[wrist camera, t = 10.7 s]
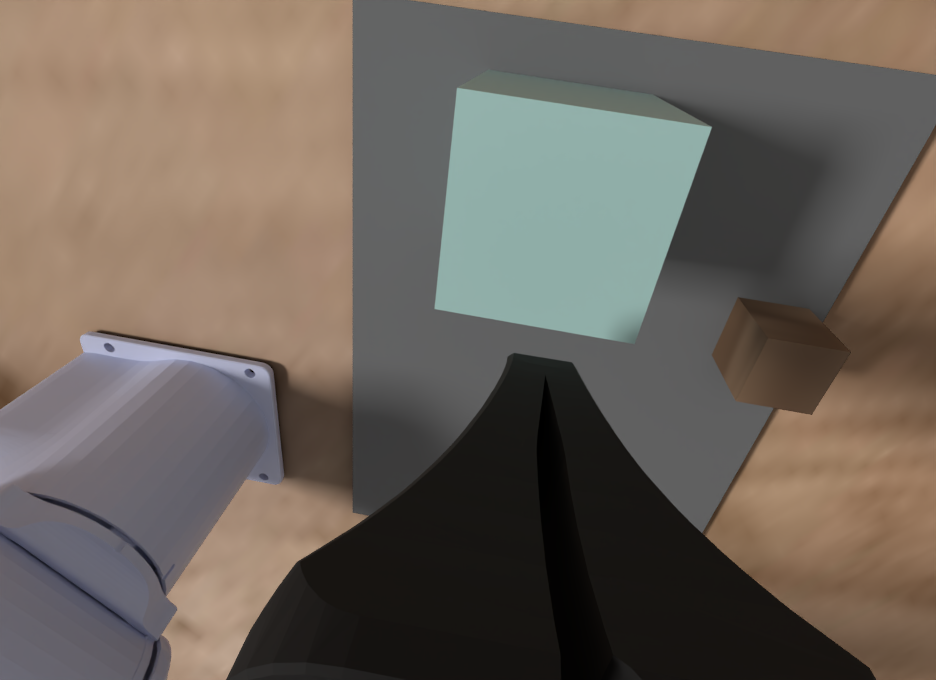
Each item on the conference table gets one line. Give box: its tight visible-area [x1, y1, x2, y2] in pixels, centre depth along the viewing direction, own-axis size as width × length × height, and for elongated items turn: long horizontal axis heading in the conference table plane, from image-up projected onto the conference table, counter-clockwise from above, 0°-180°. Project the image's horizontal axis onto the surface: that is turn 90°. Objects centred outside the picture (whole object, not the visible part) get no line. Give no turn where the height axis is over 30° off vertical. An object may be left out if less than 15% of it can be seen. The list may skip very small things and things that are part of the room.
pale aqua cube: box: [435, 70, 712, 344], centre depth 14 cm, size 5×5×7 cm
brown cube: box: [712, 297, 851, 415], centre depth 18 cm, size 3×3×3 cm
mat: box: [353, 0, 936, 533], centre depth 21 cm, size 18×24×1 cm
